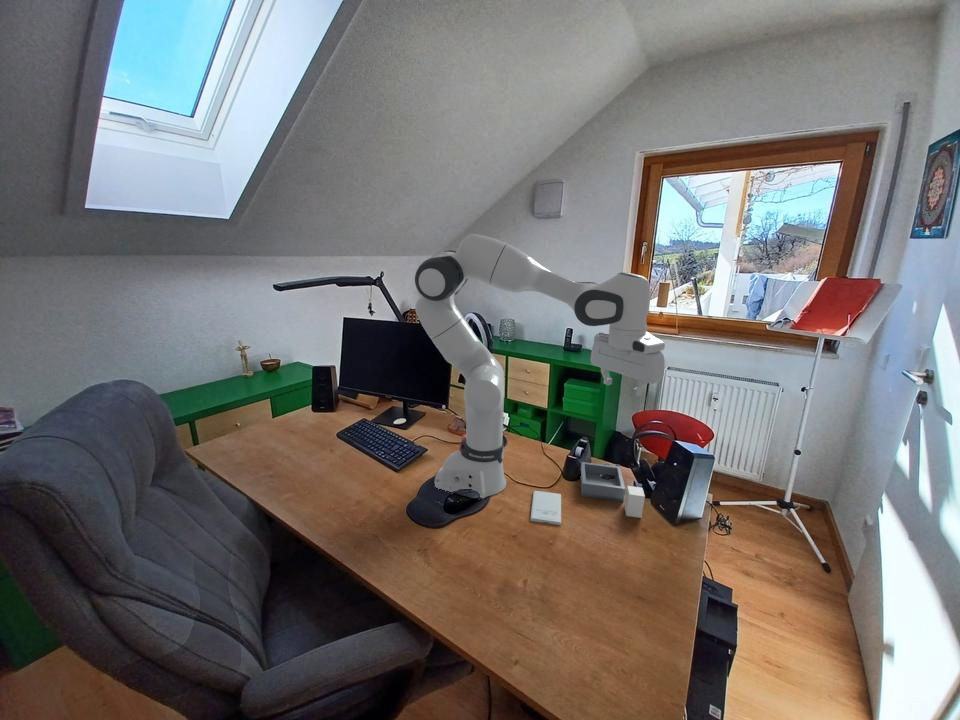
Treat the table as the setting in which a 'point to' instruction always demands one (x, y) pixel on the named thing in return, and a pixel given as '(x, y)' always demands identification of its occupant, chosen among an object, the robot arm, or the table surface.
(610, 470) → the bin
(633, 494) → the cream block
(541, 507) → the external hard drive
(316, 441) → the table surface
